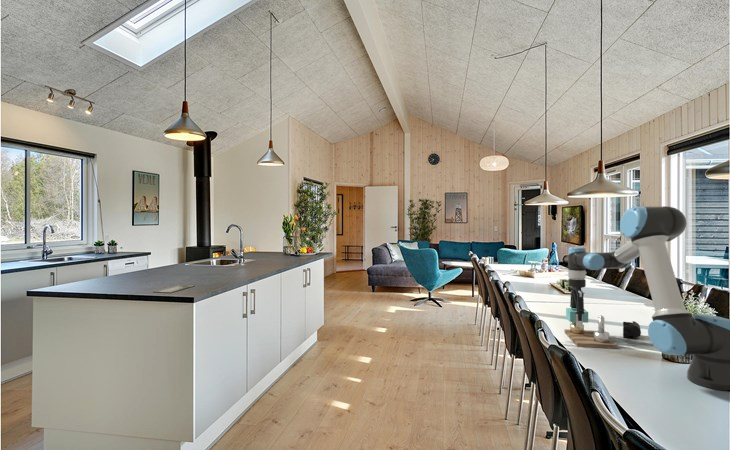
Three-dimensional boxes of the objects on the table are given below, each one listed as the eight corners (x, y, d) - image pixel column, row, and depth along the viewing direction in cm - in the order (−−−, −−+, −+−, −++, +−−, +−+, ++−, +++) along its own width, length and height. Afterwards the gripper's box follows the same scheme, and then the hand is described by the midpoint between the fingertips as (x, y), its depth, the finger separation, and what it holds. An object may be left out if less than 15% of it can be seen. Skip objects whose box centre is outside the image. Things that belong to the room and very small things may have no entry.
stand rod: (611, 343, 186) (610, 317, 186) (596, 342, 188) (596, 316, 187) (606, 339, 192) (606, 314, 192) (592, 338, 193) (592, 313, 193)
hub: (585, 334, 201) (585, 313, 200) (571, 334, 202) (571, 312, 202) (581, 331, 206) (581, 310, 206) (568, 330, 208) (568, 310, 208)
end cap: (641, 340, 195) (641, 326, 195) (623, 338, 199) (623, 324, 199) (640, 335, 204) (640, 321, 204) (623, 333, 208) (623, 320, 207)
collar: (588, 322, 199) (588, 312, 199) (570, 321, 201) (570, 311, 201) (583, 318, 207) (583, 308, 207) (566, 317, 209) (566, 307, 209)
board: (616, 348, 184) (616, 345, 184) (577, 346, 187) (577, 343, 187) (599, 333, 207) (599, 330, 207) (564, 332, 211) (564, 329, 211)
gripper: (591, 282, 193) (591, 331, 193) (579, 275, 213) (579, 320, 213) (574, 281, 194) (574, 330, 195) (563, 275, 215) (563, 319, 215)
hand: (576, 324), depth 204 cm, fingers closed on collar, 8 cm apart
